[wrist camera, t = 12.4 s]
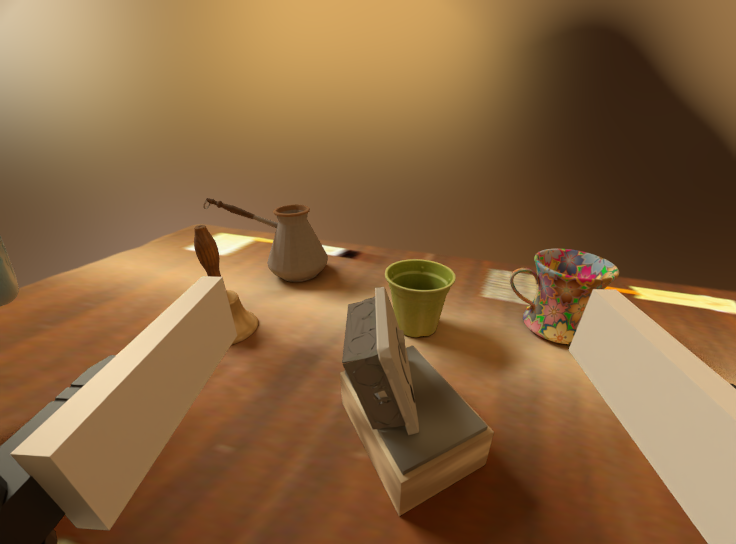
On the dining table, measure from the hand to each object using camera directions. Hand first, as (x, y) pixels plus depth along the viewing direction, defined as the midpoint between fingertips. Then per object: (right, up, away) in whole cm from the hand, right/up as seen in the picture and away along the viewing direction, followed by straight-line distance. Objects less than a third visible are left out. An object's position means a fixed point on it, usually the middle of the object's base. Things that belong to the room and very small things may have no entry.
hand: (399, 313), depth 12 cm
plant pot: (+6, -7, +35) cm, 36 cm away
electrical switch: (0, -10, +17) cm, 20 cm away
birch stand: (+3, -14, +20) cm, 24 cm away
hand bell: (-22, -7, +35) cm, 42 cm away
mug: (+24, -7, +34) cm, 42 cm away
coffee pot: (-20, +1, +51) cm, 54 cm away
